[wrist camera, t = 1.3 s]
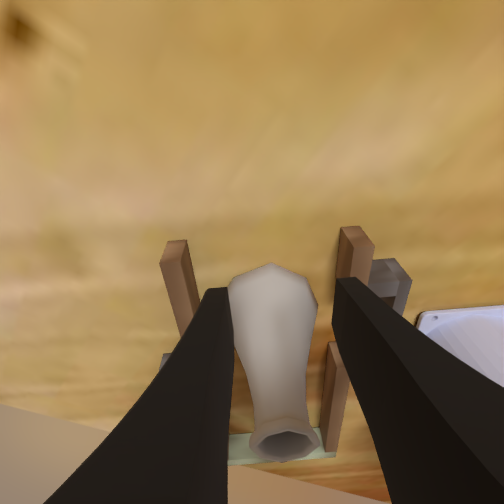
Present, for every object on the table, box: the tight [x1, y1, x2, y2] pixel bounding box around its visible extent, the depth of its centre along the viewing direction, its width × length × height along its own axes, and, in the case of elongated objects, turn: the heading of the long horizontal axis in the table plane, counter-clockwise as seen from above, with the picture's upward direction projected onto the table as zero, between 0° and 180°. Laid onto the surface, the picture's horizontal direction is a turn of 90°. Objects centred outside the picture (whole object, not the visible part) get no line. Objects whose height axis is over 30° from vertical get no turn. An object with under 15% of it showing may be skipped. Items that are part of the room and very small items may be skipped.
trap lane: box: [159, 226, 412, 466], centre depth 25 cm, size 18×26×2 cm
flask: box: [227, 263, 320, 463], centre depth 18 cm, size 7×7×10 cm
